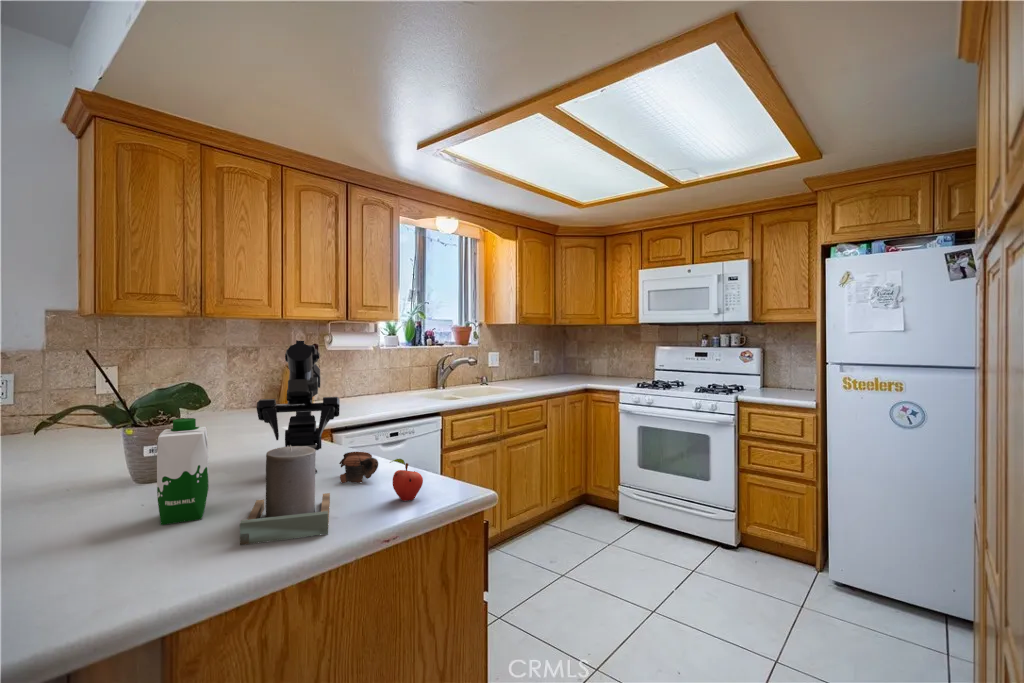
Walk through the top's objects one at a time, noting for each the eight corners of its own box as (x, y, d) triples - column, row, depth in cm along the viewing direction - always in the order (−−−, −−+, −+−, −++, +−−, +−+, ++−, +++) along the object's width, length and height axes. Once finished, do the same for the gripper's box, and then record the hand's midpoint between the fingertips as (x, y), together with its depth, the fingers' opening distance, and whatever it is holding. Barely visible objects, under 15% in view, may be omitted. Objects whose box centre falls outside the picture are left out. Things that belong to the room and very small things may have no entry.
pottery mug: (328, 484, 125) (332, 453, 129) (353, 491, 133) (356, 461, 137) (366, 478, 121) (369, 445, 125) (389, 485, 129) (392, 454, 133)
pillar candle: (254, 522, 99) (255, 449, 99) (283, 505, 109) (284, 438, 108) (299, 526, 98) (299, 452, 97) (324, 508, 107) (325, 441, 107)
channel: (256, 509, 106) (256, 491, 106) (329, 501, 111) (329, 484, 111) (239, 545, 89) (239, 523, 89) (327, 534, 94) (327, 513, 94)
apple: (408, 492, 118) (408, 451, 118) (428, 498, 114) (428, 455, 114) (383, 501, 112) (383, 458, 112) (403, 507, 108) (404, 463, 108)
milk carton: (210, 506, 108) (209, 416, 107) (206, 520, 100) (205, 423, 99) (161, 512, 104) (161, 419, 103) (153, 528, 96) (153, 427, 95)
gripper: (257, 366, 117) (250, 422, 108) (339, 365, 123) (340, 418, 114) (261, 392, 125) (256, 447, 116) (339, 390, 131) (339, 441, 122)
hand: (298, 438), depth 117 cm, fingers open, 9 cm apart
